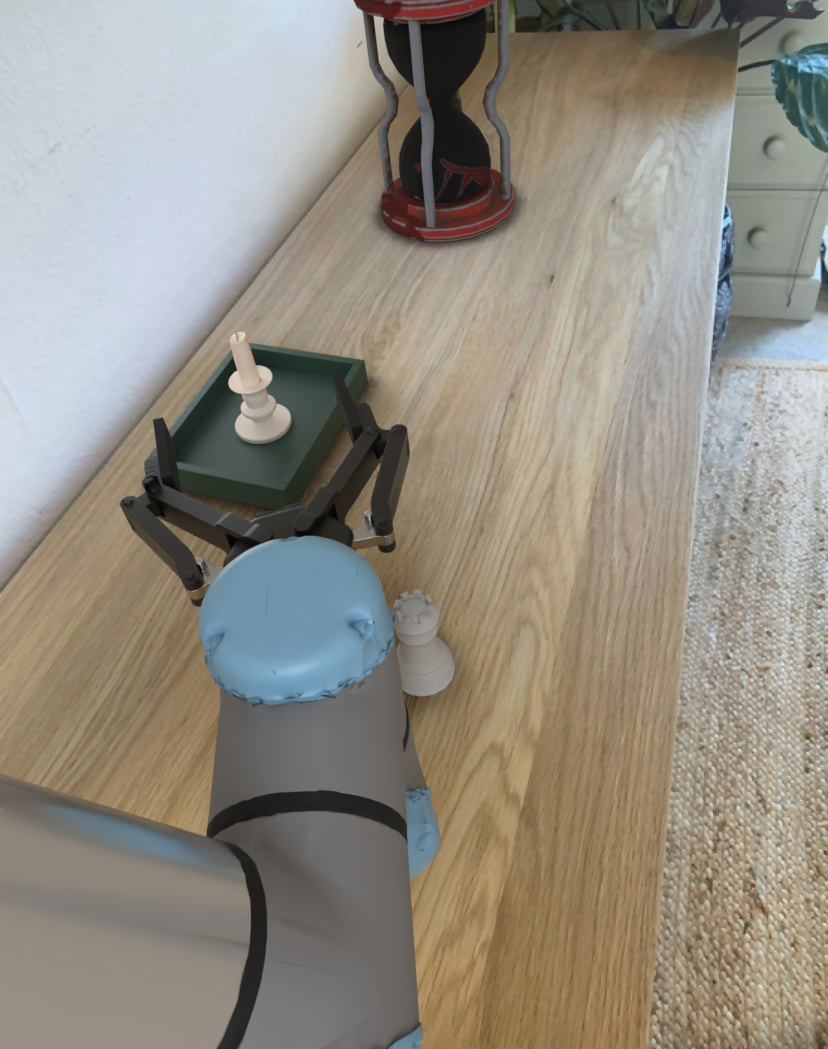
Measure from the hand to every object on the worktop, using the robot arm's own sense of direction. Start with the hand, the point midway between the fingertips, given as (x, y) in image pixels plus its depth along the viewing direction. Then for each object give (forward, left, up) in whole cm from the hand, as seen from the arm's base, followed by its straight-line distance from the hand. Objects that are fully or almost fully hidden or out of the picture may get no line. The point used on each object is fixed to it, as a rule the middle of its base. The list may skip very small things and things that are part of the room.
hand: (252, 408), depth 65 cm
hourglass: (+24, +44, -11) cm, 51 cm away
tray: (-1, +10, -11) cm, 14 cm away
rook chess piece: (+8, -19, -11) cm, 24 cm away
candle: (-1, +10, -10) cm, 14 cm away
